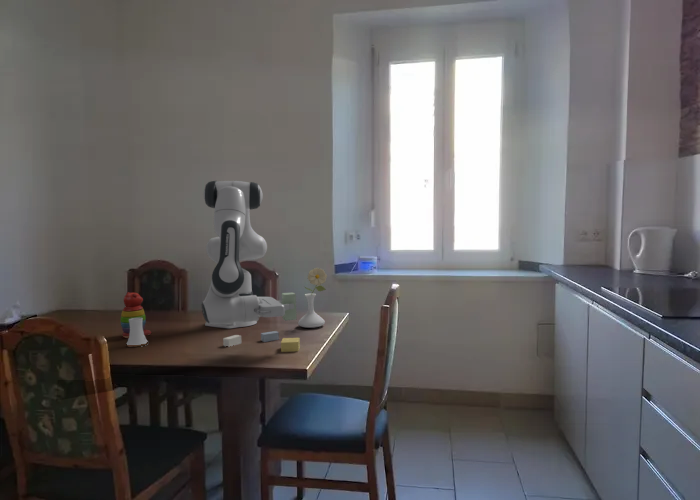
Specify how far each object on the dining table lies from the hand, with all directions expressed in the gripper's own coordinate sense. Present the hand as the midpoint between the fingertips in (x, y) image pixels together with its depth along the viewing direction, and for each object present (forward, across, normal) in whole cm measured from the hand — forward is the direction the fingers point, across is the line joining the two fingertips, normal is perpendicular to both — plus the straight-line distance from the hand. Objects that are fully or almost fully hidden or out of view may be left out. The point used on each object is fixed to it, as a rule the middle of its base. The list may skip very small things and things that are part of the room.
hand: (291, 304), depth 172 cm
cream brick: (-19, +16, +16) cm, 30 cm away
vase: (-52, +33, +16) cm, 63 cm away
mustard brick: (-1, 0, +16) cm, 16 cm away
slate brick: (-5, +16, +16) cm, 23 cm away
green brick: (-1, 0, +5) cm, 5 cm away
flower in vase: (+16, +30, +16) cm, 38 cm away
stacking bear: (-53, +49, +16) cm, 74 cm away
